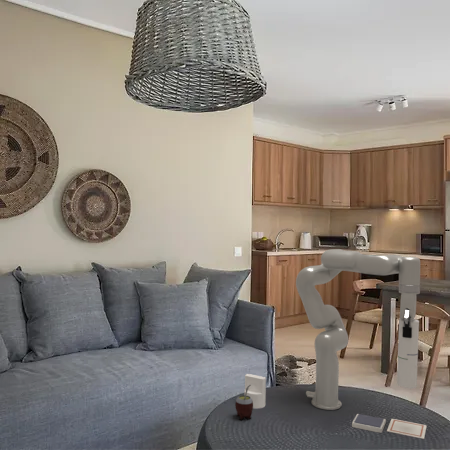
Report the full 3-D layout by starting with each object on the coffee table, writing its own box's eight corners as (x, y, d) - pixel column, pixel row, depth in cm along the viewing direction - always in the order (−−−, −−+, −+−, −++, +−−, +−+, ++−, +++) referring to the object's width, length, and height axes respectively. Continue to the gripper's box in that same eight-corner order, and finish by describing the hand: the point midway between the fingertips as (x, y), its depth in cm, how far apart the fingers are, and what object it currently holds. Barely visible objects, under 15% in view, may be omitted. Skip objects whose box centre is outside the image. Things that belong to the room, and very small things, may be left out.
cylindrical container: (418, 389, 182) (420, 322, 182) (398, 387, 184) (400, 321, 183) (414, 382, 189) (417, 318, 189) (395, 381, 191) (397, 317, 190)
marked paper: (386, 431, 184) (386, 430, 184) (391, 419, 195) (391, 418, 195) (423, 438, 178) (424, 438, 178) (426, 425, 189) (426, 425, 189)
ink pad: (351, 426, 187) (352, 422, 187) (357, 417, 196) (357, 412, 196) (381, 433, 182) (381, 428, 182) (385, 423, 191) (385, 418, 191)
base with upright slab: (269, 403, 209) (269, 375, 209) (259, 410, 201) (259, 381, 201) (250, 399, 214) (251, 371, 214) (240, 405, 206) (241, 377, 206)
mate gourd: (240, 412, 198) (240, 376, 198) (257, 416, 195) (258, 379, 195) (231, 419, 192) (232, 381, 192) (249, 423, 188) (250, 384, 188)
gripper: (401, 285, 195) (400, 329, 195) (395, 291, 180) (394, 339, 180) (421, 287, 192) (420, 332, 192) (417, 292, 176) (416, 341, 177)
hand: (408, 335), depth 186 cm, fingers closed on cylindrical container, 7 cm apart
